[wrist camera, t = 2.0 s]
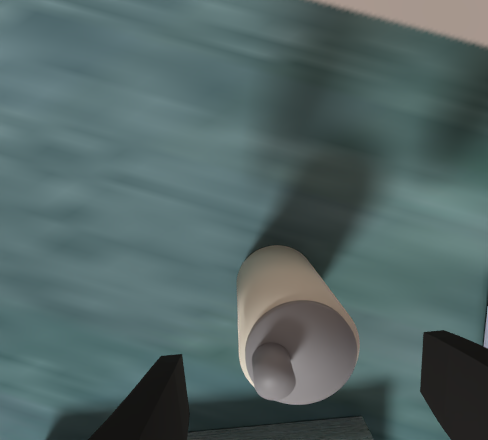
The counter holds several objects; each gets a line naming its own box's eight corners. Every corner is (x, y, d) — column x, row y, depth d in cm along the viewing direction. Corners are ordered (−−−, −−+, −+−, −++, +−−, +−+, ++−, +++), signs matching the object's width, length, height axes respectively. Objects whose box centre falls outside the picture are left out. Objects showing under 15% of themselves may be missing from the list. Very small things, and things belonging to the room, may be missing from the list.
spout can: (313, 242, 15) (379, 309, 8) (315, 315, 16) (377, 431, 9) (233, 248, 15) (234, 321, 8) (239, 321, 16) (245, 443, 9)
